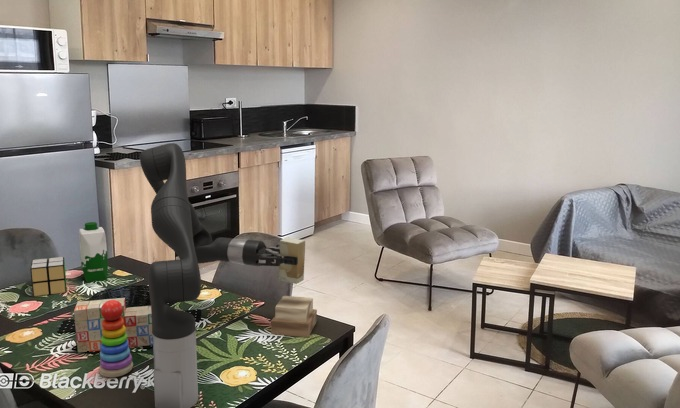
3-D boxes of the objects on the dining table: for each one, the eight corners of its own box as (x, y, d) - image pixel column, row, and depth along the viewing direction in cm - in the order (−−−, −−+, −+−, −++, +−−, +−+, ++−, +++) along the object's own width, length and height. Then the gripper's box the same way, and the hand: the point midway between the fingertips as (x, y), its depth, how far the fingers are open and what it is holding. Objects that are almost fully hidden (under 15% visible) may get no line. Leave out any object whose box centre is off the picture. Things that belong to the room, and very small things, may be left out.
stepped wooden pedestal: (308, 337, 164) (308, 311, 162) (271, 333, 166) (270, 307, 164) (316, 321, 175) (316, 297, 173) (281, 318, 177) (281, 294, 175)
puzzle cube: (34, 287, 199) (31, 259, 197) (66, 283, 203) (64, 256, 201) (33, 297, 190) (30, 268, 188) (66, 293, 194) (64, 264, 192)
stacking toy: (94, 370, 144) (88, 299, 140) (125, 359, 149) (120, 291, 145) (107, 382, 138) (101, 309, 134) (138, 371, 144) (134, 300, 140)
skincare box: (278, 280, 167) (278, 240, 164) (286, 276, 171) (286, 236, 168) (297, 284, 164) (298, 243, 162) (305, 280, 168) (305, 239, 165)
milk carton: (106, 272, 215) (103, 220, 211) (110, 280, 207) (106, 226, 203) (81, 276, 211) (76, 223, 206) (83, 284, 203) (79, 229, 199)
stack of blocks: (161, 335, 164) (159, 294, 162) (161, 344, 158) (159, 302, 156) (80, 342, 159) (77, 300, 156) (77, 353, 153) (73, 309, 150)
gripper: (235, 246, 162) (292, 252, 158) (256, 233, 176) (309, 239, 171) (235, 271, 164) (291, 278, 159) (256, 257, 177) (309, 263, 173)
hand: (300, 258), depth 165 cm, fingers closed on skincare box, 5 cm apart
